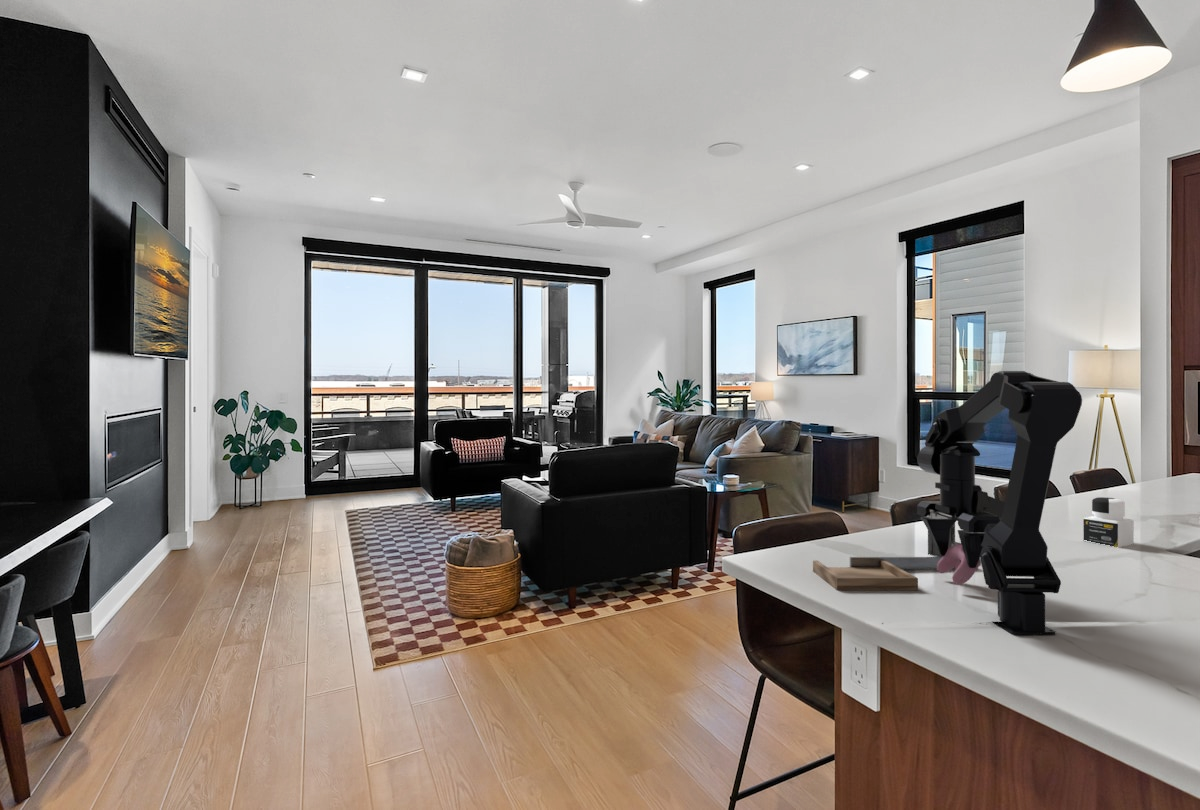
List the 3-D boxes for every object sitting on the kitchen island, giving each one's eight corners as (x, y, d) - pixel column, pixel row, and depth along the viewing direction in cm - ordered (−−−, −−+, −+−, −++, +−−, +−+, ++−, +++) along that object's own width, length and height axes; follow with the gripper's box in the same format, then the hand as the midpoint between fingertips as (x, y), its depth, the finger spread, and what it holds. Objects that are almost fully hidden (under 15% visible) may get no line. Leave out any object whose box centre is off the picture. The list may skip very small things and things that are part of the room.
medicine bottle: (1082, 546, 149) (1082, 497, 149) (1099, 543, 152) (1099, 495, 152) (1117, 552, 142) (1117, 501, 142) (1134, 549, 145) (1134, 499, 145)
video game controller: (980, 590, 111) (987, 552, 111) (952, 584, 112) (960, 546, 112) (959, 576, 120) (965, 541, 120) (934, 571, 121) (940, 536, 121)
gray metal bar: (974, 569, 127) (974, 557, 127) (851, 569, 127) (851, 557, 127) (967, 566, 129) (967, 555, 129) (846, 566, 129) (846, 555, 129)
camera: (946, 561, 135) (946, 516, 135) (926, 559, 137) (926, 514, 137) (956, 547, 148) (955, 506, 148) (937, 545, 150) (937, 504, 150)
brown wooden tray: (917, 590, 114) (917, 578, 114) (837, 590, 114) (837, 578, 114) (885, 571, 127) (885, 560, 127) (813, 571, 127) (812, 560, 127)
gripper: (1034, 484, 106) (1035, 574, 106) (970, 473, 125) (970, 549, 125) (970, 485, 106) (970, 574, 106) (915, 473, 125) (915, 549, 125)
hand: (957, 561), depth 116 cm, fingers closed on video game controller, 9 cm apart
